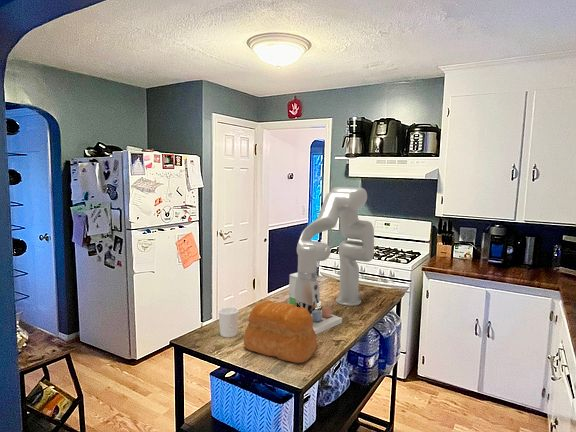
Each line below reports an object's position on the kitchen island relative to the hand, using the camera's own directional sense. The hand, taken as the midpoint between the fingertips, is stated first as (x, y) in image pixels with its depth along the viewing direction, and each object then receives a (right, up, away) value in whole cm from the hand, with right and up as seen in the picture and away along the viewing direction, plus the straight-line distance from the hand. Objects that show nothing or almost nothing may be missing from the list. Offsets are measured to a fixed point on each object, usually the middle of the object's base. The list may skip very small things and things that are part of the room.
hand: (306, 319), depth 158 cm
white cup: (-31, -6, -1) cm, 32 cm away
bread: (-10, -8, -14) cm, 19 cm away
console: (+5, -5, +5) cm, 9 cm away
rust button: (+9, -2, +10) cm, 13 cm away
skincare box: (-2, -2, +33) cm, 33 cm away
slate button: (+5, -2, +5) cm, 7 cm away
